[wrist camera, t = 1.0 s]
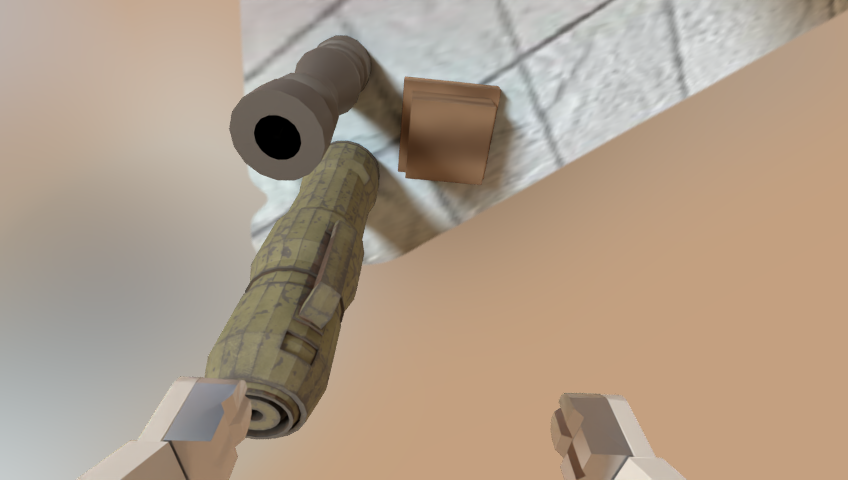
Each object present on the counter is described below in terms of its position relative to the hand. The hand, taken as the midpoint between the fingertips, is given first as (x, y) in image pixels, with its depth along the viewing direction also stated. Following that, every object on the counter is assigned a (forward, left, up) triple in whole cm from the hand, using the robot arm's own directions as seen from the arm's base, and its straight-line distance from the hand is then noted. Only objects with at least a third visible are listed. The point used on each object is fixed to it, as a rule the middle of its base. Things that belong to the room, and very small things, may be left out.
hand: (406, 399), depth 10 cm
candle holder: (0, -8, -42) cm, 43 cm away
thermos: (+13, -8, -42) cm, 45 cm away
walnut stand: (+6, +4, -42) cm, 43 cm away
